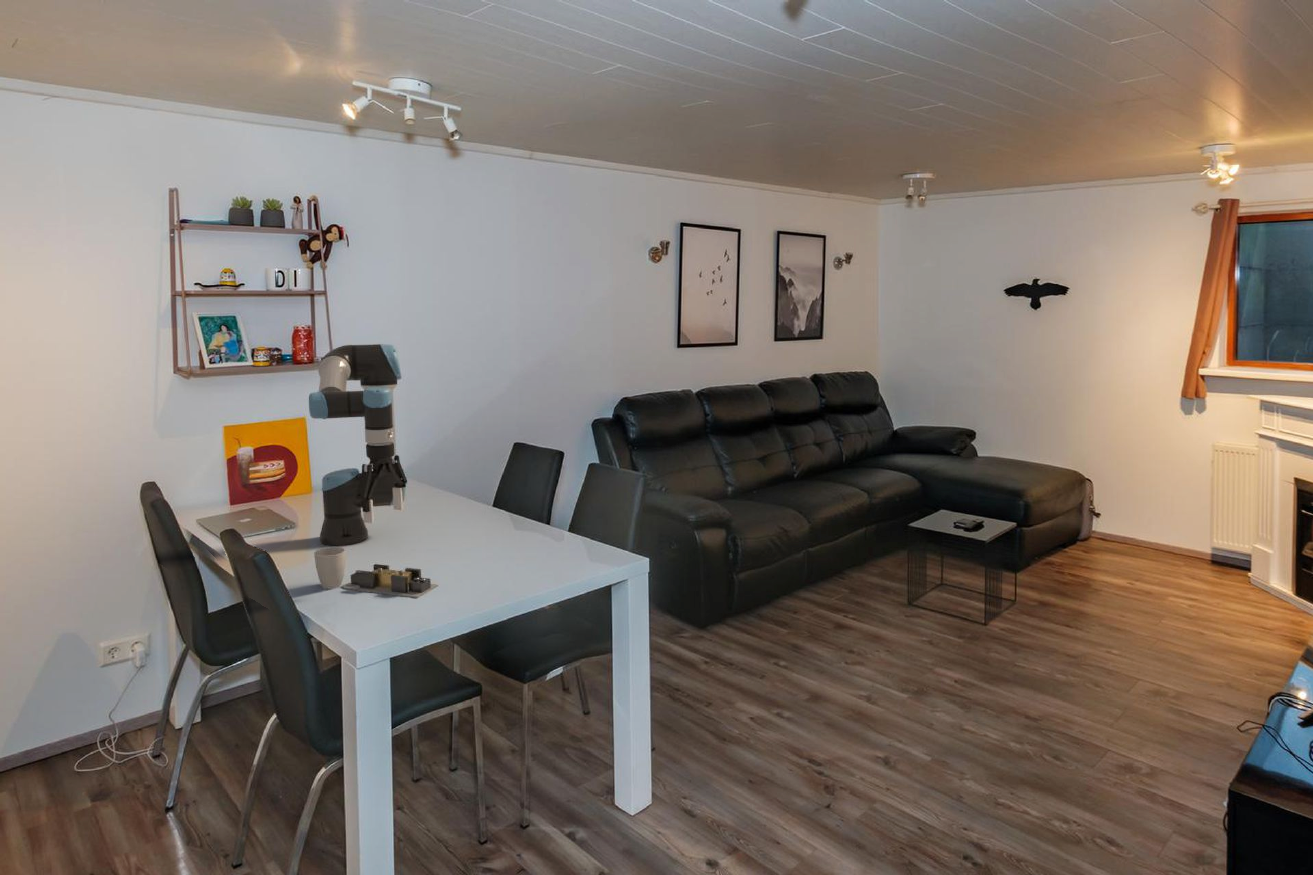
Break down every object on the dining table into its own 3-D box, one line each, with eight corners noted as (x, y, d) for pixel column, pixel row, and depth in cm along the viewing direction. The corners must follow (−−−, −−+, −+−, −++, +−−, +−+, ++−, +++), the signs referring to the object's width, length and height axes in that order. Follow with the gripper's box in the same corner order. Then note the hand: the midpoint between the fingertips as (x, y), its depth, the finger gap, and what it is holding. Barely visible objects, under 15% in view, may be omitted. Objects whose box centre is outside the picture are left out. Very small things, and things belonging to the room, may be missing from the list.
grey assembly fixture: (347, 585, 231) (346, 570, 231) (364, 577, 238) (363, 562, 238) (418, 594, 224) (417, 579, 223) (433, 585, 231) (433, 570, 230)
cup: (336, 578, 238) (333, 545, 237) (353, 584, 234) (351, 550, 232) (310, 586, 232) (308, 552, 230) (327, 592, 227) (325, 557, 225)
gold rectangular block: (412, 586, 231) (411, 569, 230) (404, 590, 228) (403, 573, 227) (378, 581, 234) (377, 565, 234) (370, 586, 231) (369, 569, 230)
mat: (343, 588, 230) (343, 587, 230) (366, 577, 240) (366, 575, 240) (417, 597, 223) (417, 596, 223) (438, 585, 232) (438, 584, 232)
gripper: (362, 452, 219) (367, 529, 223) (417, 435, 242) (420, 505, 246) (338, 450, 221) (344, 526, 225) (395, 433, 244) (399, 503, 249)
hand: (384, 515), depth 236 cm, fingers open, 13 cm apart
